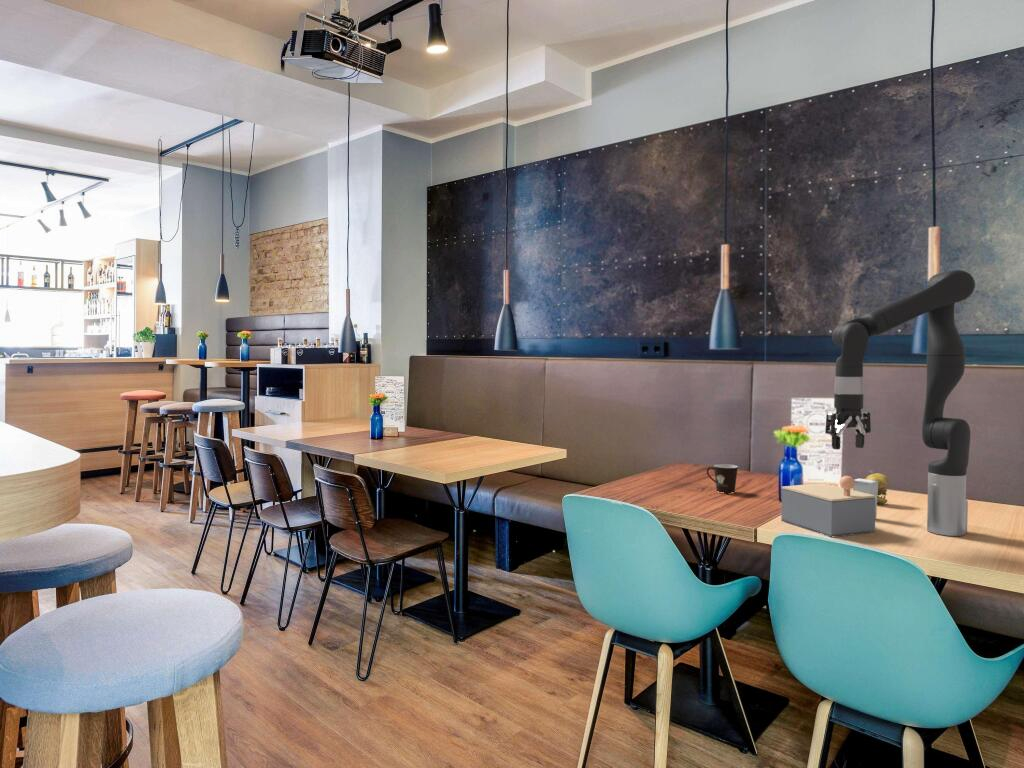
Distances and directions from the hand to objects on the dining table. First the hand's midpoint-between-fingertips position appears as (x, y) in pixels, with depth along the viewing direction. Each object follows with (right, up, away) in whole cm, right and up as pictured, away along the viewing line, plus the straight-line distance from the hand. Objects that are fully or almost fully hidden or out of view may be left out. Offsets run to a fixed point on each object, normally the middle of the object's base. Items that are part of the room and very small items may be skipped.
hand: (847, 448), depth 190 cm
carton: (-2, -24, +8) cm, 26 cm away
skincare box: (+14, -24, +18) cm, 33 cm away
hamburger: (+29, -23, +38) cm, 53 cm away
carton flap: (-2, -14, +8) cm, 16 cm away
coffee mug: (-17, -23, +60) cm, 66 cm away
